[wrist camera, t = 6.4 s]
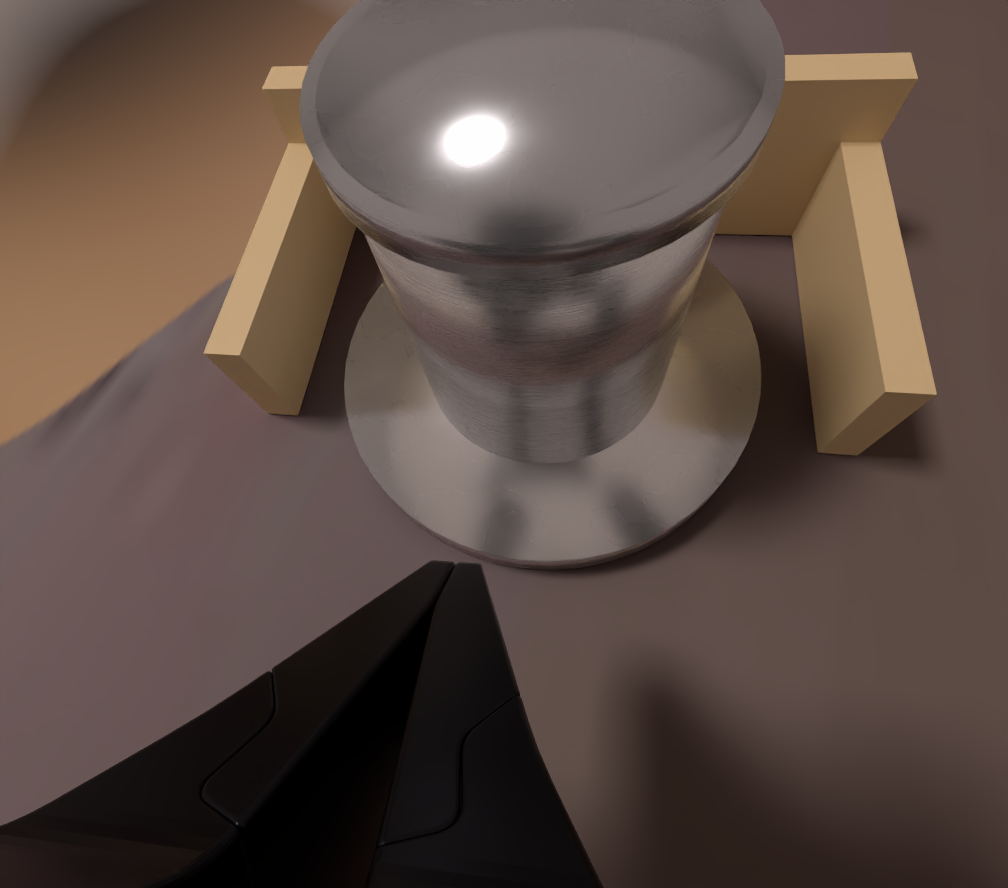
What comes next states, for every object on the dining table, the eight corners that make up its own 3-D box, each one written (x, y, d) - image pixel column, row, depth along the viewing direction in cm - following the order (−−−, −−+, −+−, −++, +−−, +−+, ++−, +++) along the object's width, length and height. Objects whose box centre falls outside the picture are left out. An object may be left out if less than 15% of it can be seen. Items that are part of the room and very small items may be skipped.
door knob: (755, 597, 16) (1086, 452, 6) (314, 543, 18) (4, 365, 8) (739, 238, 21) (898, -151, 11) (402, 227, 23) (286, -113, 13)
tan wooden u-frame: (857, 455, 17) (994, 350, 12) (267, 413, 20) (158, 312, 15) (820, 206, 22) (908, 44, 16) (339, 199, 24) (275, 59, 19)
